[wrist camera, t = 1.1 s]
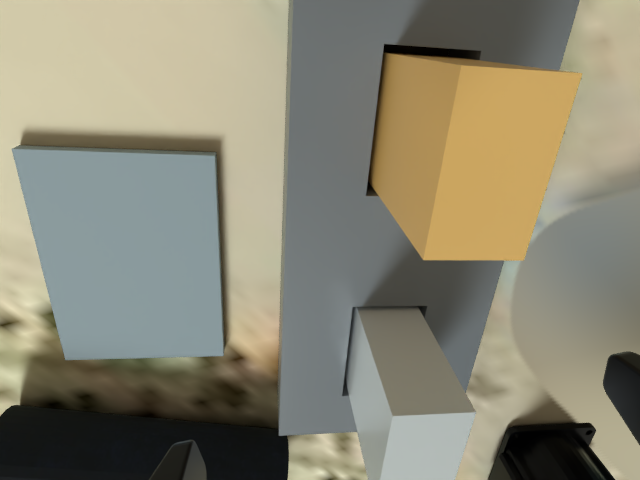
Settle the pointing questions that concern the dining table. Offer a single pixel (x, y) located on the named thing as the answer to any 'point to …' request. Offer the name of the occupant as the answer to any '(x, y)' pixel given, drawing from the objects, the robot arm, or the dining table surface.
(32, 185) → the slate mat
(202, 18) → the dining table surface
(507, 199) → the tan rectangular block
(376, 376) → the grey plug
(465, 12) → the header
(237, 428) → the pipe connector
